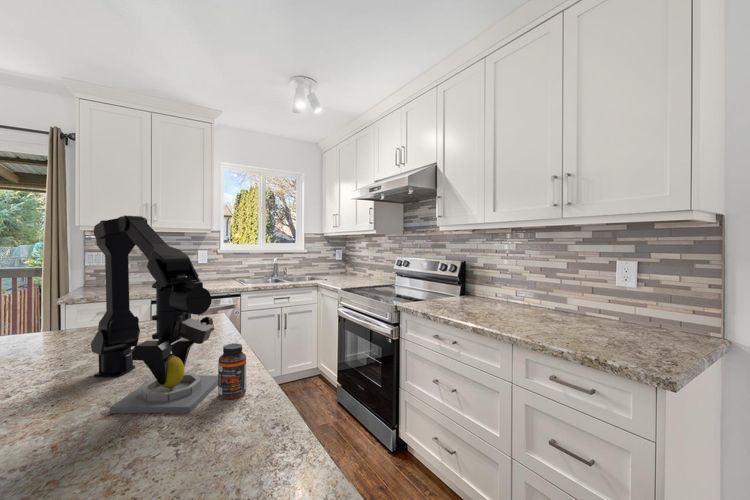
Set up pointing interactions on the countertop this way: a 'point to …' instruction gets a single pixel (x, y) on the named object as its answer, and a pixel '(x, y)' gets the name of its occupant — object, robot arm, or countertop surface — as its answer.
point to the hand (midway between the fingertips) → (171, 377)
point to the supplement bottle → (232, 372)
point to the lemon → (174, 372)
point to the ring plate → (167, 396)
